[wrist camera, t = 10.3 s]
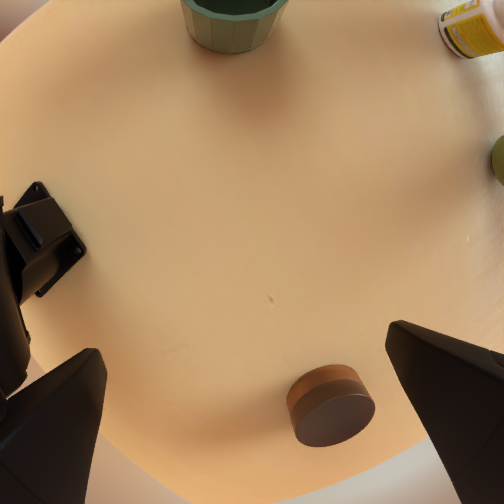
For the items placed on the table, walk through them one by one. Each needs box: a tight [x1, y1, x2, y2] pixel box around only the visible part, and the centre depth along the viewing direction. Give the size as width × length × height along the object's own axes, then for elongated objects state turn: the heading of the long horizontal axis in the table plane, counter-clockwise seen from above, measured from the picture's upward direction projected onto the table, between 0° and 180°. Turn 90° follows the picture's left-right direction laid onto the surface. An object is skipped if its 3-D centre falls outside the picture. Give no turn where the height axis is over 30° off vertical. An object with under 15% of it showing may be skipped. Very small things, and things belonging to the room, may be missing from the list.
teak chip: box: [287, 365, 364, 416], centre depth 23 cm, size 7×7×2 cm
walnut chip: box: [291, 379, 375, 447], centre depth 21 cm, size 7×7×2 cm
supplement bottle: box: [439, 0, 504, 59], centre depth 11 cm, size 5×5×8 cm
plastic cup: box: [180, 0, 289, 54], centre depth 12 cm, size 6×6×5 cm
